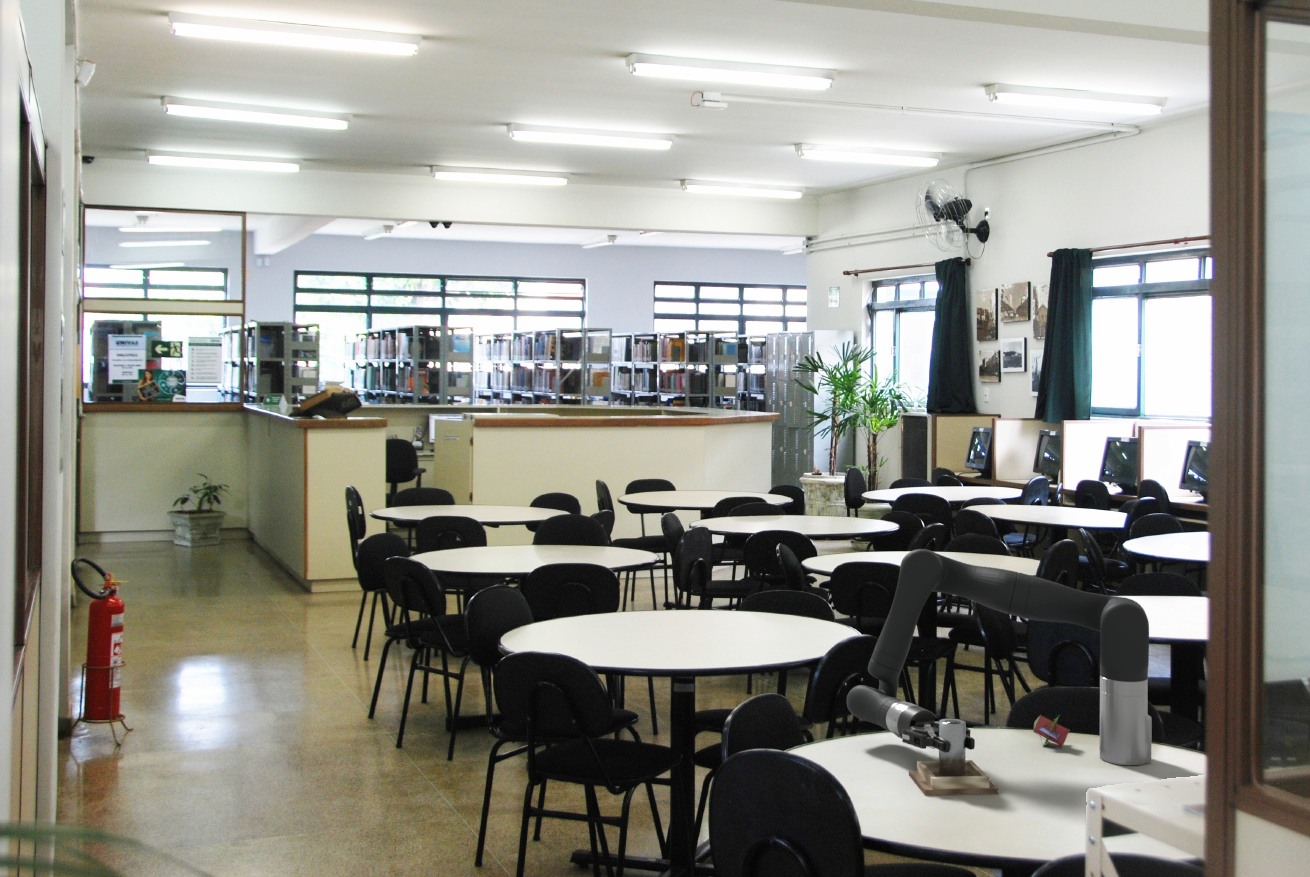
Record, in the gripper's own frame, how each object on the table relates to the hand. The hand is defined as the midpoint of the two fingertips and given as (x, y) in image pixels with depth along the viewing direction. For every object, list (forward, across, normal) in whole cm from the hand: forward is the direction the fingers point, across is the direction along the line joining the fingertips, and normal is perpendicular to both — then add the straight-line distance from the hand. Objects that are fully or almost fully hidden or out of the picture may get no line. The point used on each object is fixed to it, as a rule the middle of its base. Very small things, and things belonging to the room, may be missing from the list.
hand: (960, 745), depth 227 cm
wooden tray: (-3, 0, +8) cm, 9 cm away
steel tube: (-3, 0, +6) cm, 7 cm away
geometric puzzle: (-17, +35, +9) cm, 40 cm away
